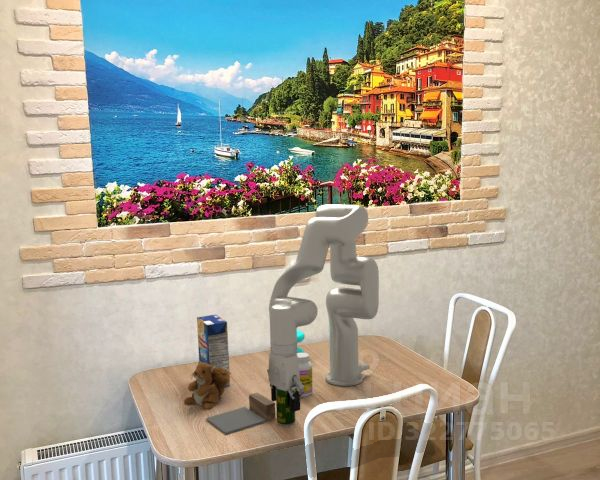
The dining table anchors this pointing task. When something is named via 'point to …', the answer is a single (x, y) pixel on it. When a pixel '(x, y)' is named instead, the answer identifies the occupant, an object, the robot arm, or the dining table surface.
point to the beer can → (284, 408)
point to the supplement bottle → (305, 373)
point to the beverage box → (213, 342)
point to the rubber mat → (235, 420)
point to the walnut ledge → (262, 406)
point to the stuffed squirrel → (207, 385)
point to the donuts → (300, 340)
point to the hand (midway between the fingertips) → (285, 405)
